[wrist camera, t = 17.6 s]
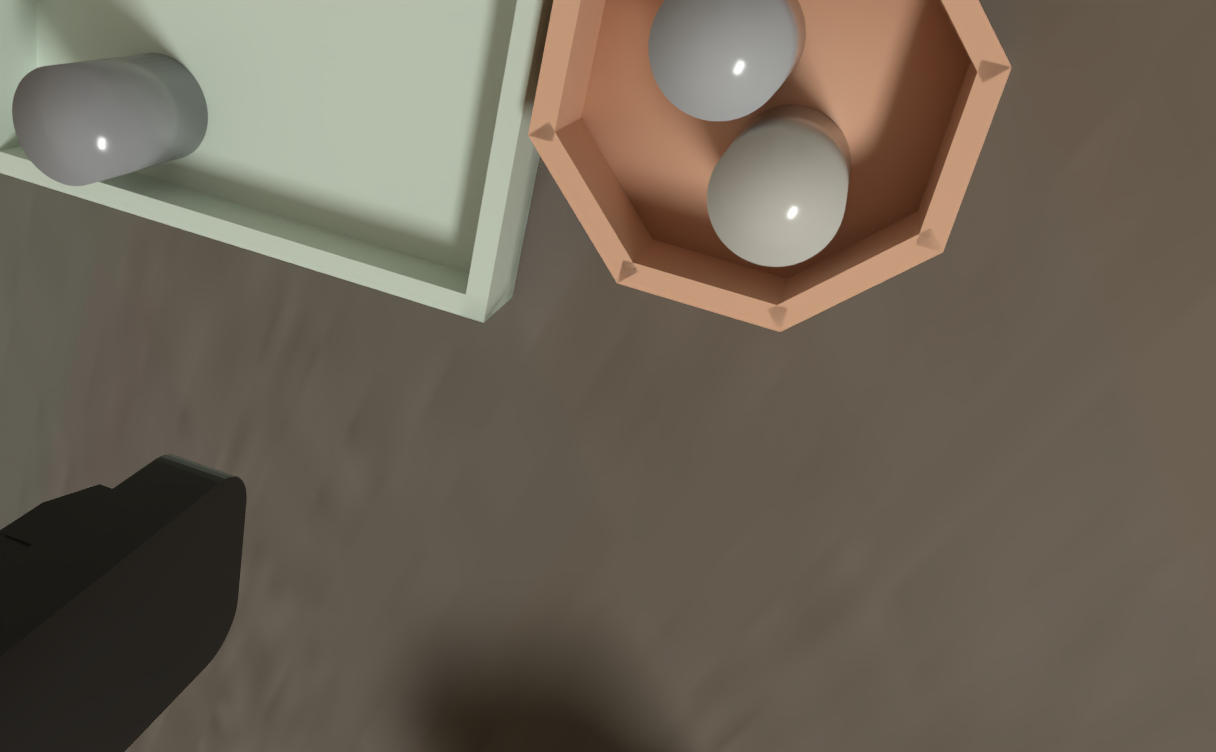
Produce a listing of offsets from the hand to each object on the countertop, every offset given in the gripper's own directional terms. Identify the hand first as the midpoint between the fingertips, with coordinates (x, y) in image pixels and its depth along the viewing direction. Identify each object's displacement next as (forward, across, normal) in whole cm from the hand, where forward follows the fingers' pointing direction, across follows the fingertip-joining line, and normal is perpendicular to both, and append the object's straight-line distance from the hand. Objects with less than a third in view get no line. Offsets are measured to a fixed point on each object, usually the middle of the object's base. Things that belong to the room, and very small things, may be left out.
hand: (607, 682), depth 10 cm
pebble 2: (+26, +3, -4) cm, 26 cm away
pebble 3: (+26, +1, 0) cm, 26 cm away
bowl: (+27, +2, -2) cm, 27 cm away
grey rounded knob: (+26, +23, +4) cm, 35 cm away
